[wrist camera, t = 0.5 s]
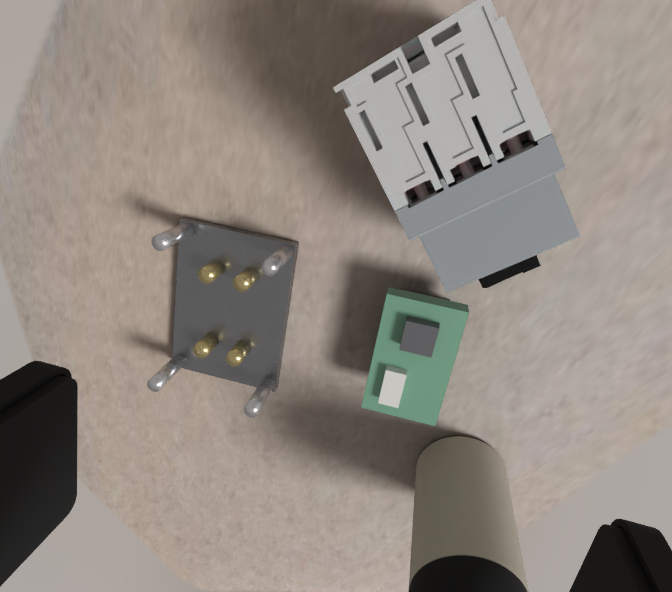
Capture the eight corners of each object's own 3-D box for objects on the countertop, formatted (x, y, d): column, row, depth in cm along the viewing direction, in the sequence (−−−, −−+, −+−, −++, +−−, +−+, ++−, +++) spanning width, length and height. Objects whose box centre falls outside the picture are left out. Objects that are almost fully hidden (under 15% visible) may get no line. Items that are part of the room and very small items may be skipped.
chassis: (184, 217, 42) (150, 232, 37) (298, 242, 41) (279, 261, 36) (176, 360, 48) (145, 390, 43) (277, 386, 47) (258, 420, 42)
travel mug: (406, 441, 46) (388, 629, 30) (494, 427, 44) (529, 621, 27) (428, 510, 48) (424, 720, 32) (514, 499, 46) (556, 719, 30)
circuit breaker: (453, 262, 40) (462, 346, 26) (370, 91, 36) (329, 82, 23) (548, 220, 37) (614, 288, 23) (469, 32, 34) (491, -17, 20)
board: (388, 287, 38) (385, 298, 36) (467, 304, 37) (469, 318, 35) (363, 397, 42) (359, 414, 40) (435, 415, 41) (435, 433, 39)
